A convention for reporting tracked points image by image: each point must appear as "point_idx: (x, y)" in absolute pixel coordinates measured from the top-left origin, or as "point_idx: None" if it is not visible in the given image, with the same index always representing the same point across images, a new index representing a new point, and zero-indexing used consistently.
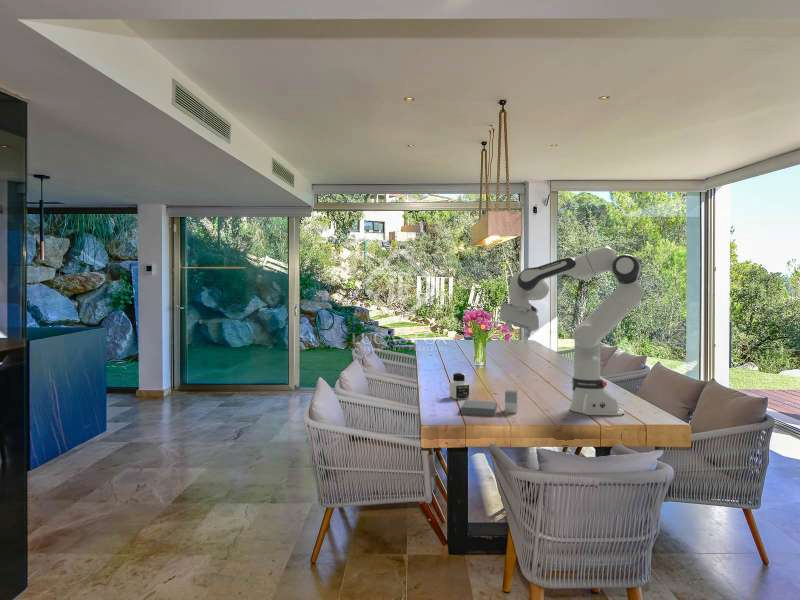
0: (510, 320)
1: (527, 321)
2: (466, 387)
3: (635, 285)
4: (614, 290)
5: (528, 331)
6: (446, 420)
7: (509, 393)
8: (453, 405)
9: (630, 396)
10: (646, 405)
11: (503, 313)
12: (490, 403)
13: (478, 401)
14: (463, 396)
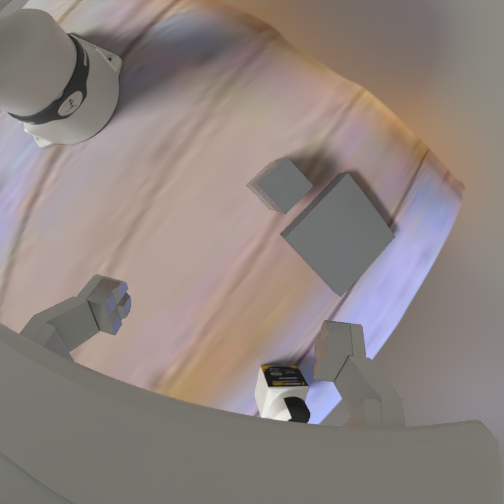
0: (400, 426)
1: (39, 411)
2: (275, 382)
3: None
4: None
5: (67, 342)
6: (430, 206)
7: (302, 175)
8: (343, 317)
9: None
10: None
11: (499, 477)
12: (313, 231)
13: (322, 269)
14: (279, 369)
